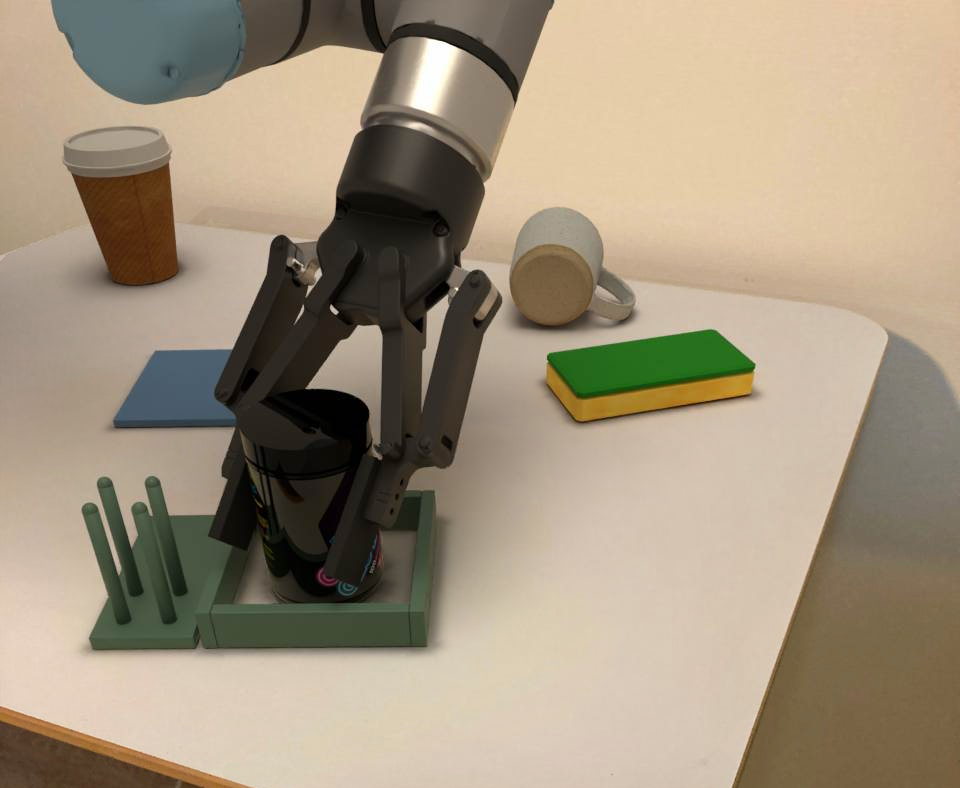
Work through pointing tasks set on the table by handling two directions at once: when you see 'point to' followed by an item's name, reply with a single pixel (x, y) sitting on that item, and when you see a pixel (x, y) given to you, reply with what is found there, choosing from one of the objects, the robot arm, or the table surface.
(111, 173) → the disposable coffee cup
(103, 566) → the dish rack
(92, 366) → the table surface
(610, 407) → the dish sponge
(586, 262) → the ceramic mug
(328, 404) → the supplement container
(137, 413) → the blue mat
